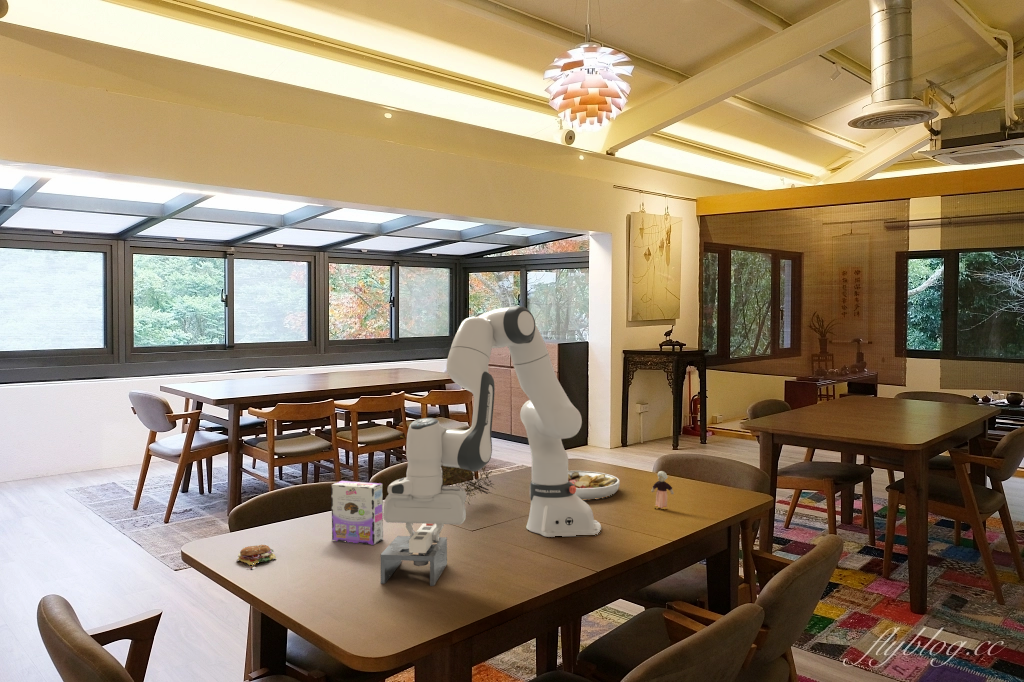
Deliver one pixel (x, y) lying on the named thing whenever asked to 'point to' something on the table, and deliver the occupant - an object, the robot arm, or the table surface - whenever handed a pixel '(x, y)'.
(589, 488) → the bowl
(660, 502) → the grandmother figurine
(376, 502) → the candy box
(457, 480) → the dried plant
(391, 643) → the table surface
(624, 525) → the table surface
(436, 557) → the grey stepped cutout plate
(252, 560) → the hamburger
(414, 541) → the power strip
